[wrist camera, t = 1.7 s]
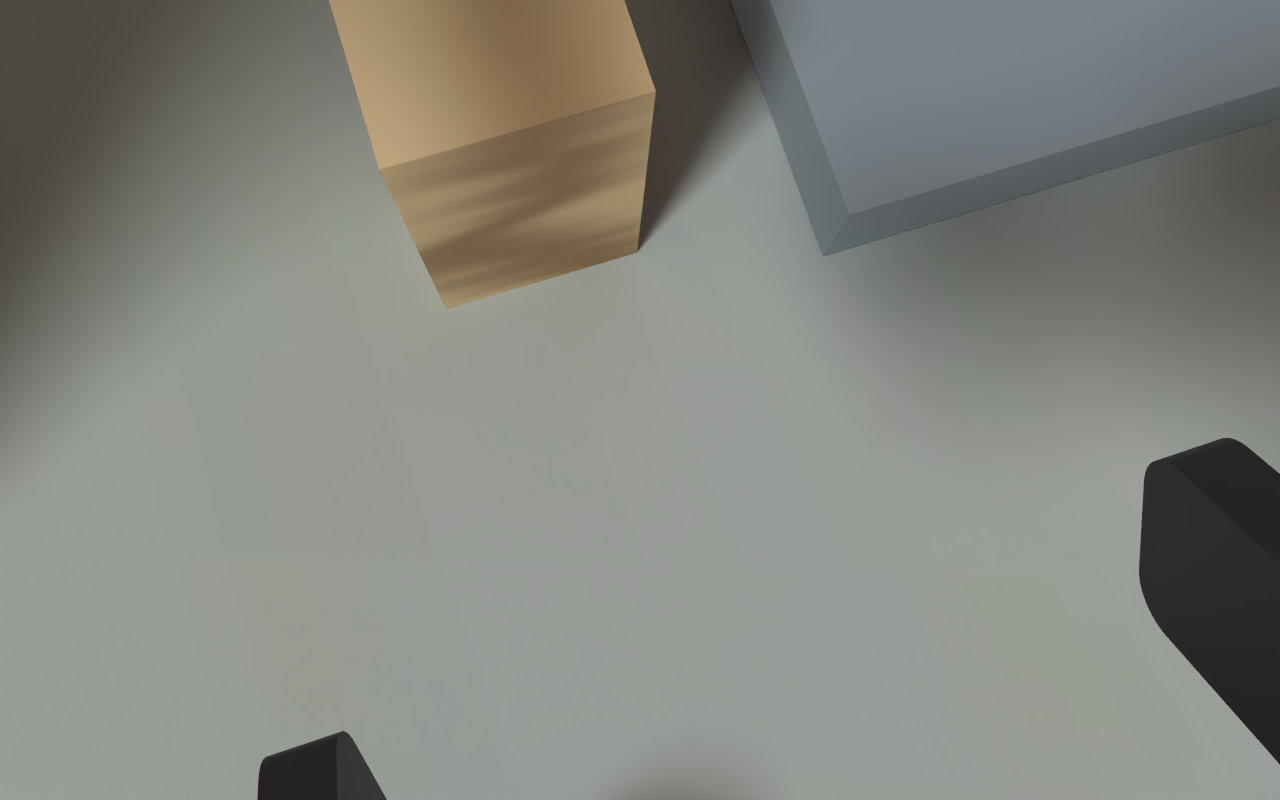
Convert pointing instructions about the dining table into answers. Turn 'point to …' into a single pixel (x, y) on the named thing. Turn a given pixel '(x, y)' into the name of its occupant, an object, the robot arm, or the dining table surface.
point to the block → (505, 132)
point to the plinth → (995, 96)
